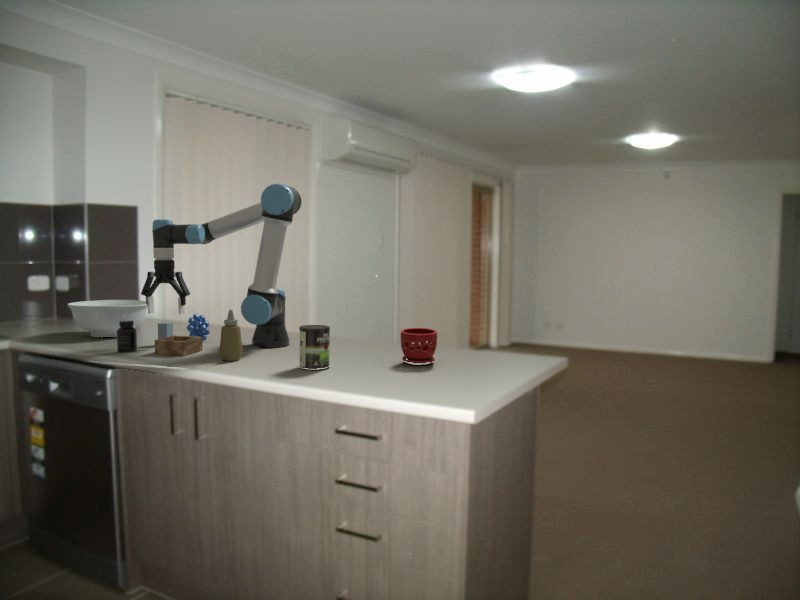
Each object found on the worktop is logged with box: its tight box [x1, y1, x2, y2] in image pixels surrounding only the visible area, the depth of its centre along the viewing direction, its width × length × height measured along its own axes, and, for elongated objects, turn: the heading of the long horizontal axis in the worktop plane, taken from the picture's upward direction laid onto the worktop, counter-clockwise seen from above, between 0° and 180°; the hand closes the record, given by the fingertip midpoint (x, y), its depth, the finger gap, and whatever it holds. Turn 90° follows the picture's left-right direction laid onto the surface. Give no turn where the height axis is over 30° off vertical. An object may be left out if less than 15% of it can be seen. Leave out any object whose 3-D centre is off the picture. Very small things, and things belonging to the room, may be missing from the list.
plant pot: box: [400, 327, 438, 363], centre depth 220 cm, size 13×13×12 cm
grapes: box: [186, 313, 211, 342], centre depth 256 cm, size 12×7×12 cm, turn 151°
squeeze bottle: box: [219, 309, 243, 362], centre depth 220 cm, size 8×8×18 cm
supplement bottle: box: [116, 320, 138, 353], centre depth 230 cm, size 7×7×12 cm
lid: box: [157, 321, 174, 339], centre depth 243 cm, size 13×13×10 cm
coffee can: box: [298, 324, 331, 369], centre depth 209 cm, size 10×10×14 cm
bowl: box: [67, 299, 148, 339], centre depth 270 cm, size 32×32×15 cm
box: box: [154, 334, 203, 357], centre depth 229 cm, size 12×12×6 cm
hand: (166, 313), depth 243 cm, fingers open, 13 cm apart
